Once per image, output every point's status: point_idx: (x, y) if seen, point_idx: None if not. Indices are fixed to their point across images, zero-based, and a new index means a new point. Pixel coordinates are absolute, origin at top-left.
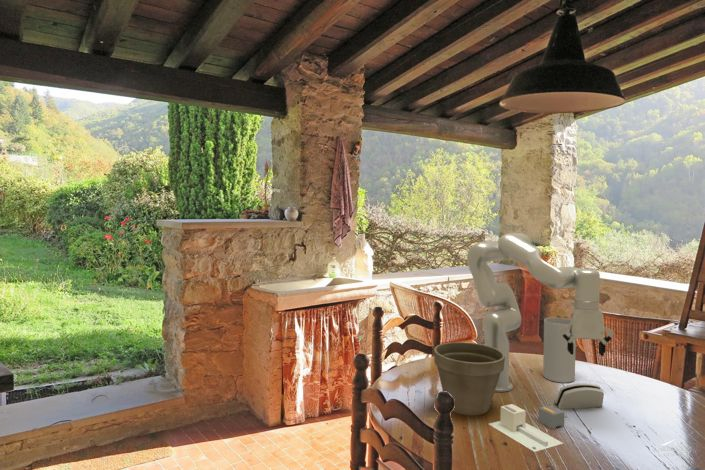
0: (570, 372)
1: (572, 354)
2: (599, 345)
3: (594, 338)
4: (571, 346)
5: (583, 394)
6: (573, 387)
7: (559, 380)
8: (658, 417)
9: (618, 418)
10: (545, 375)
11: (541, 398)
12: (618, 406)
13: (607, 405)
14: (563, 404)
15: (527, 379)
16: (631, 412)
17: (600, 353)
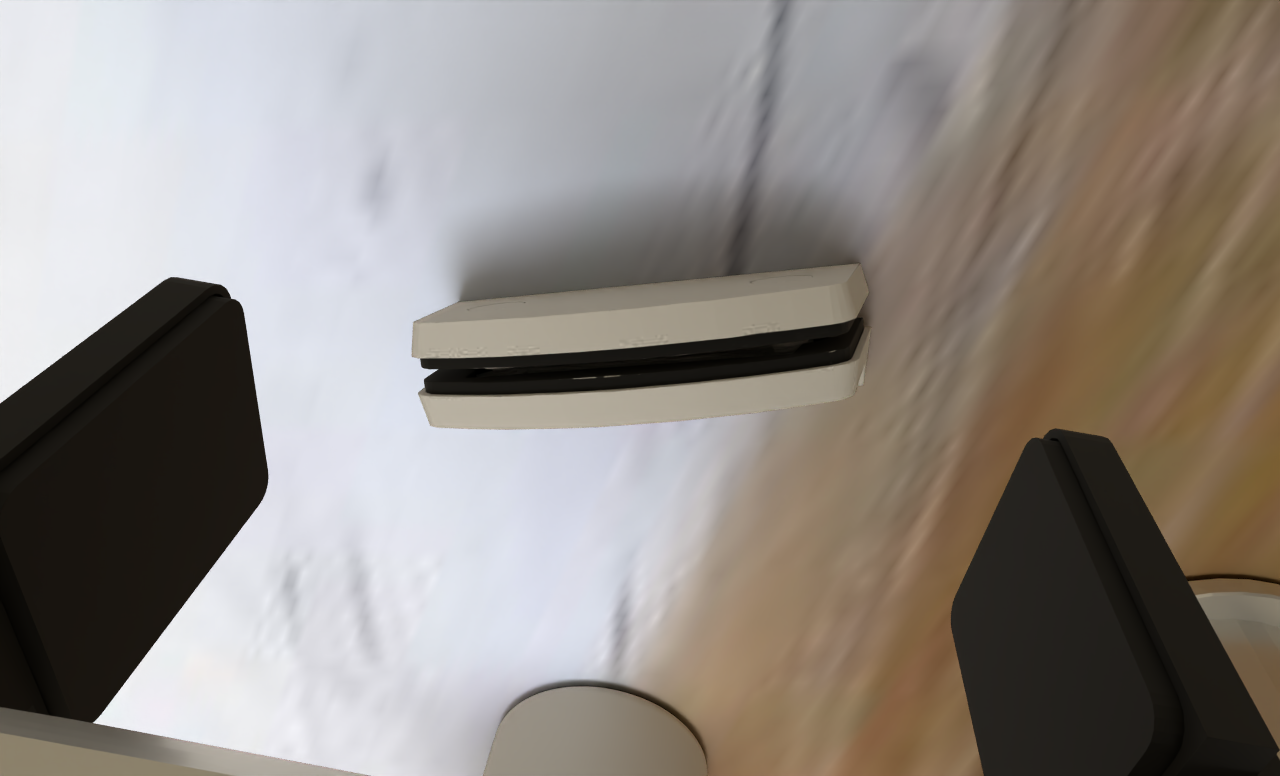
0: (532, 754)
1: (1056, 432)
2: (115, 623)
3: (56, 771)
4: (1208, 629)
5: (633, 301)
6: (728, 365)
7: (629, 703)
8: (44, 97)
9: (392, 56)
10: (704, 770)
11: (923, 458)
12: (320, 308)
13: (404, 326)
14: (837, 270)
15: (847, 750)
16: (244, 193)
17: (227, 385)
